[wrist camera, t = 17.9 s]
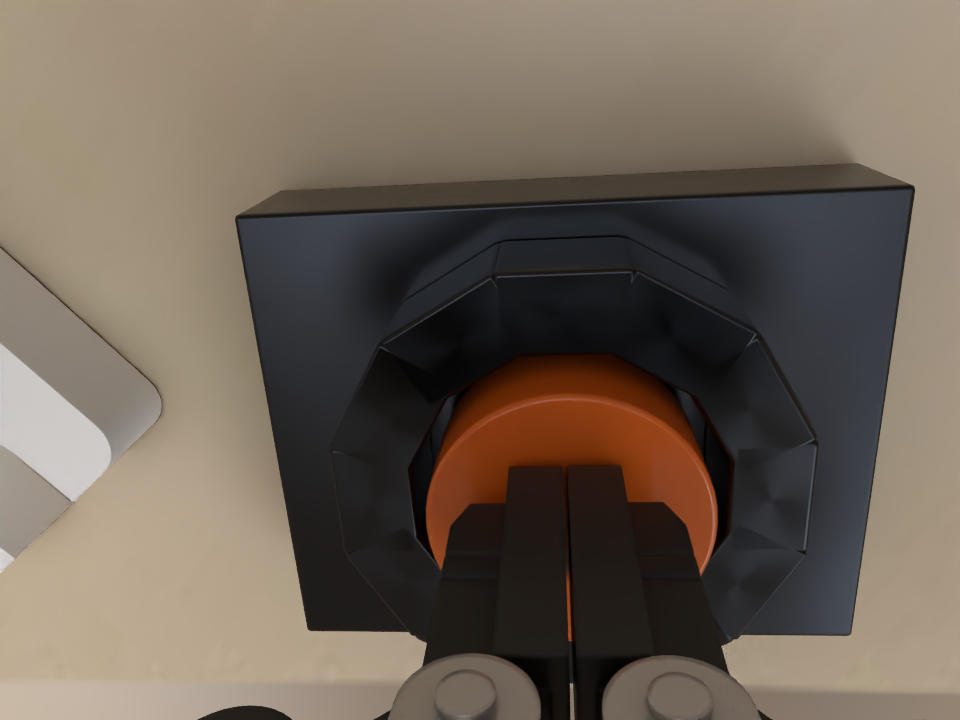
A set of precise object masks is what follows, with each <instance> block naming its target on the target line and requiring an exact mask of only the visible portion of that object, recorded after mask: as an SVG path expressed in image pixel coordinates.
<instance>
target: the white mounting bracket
mask: <svg viewBox="0 0 960 720" xmlns="http://www.w3.org/2000/svg"><path fill="white" fill-rule="evenodd" d="M160 413H161V399H160V396H159V394H158V392H157V390H156V388H155V387H154V386H153V385H152V384H151V382H150V381H149V380H148V379H146V378H145V377H144V376H143V375H142V374H141V373H140V372H139V371H137V370H136V369H135V368H134V367H133V366H132V365H131V364H130V363H129V362H127V361H126V360H125V359H124V358H123V357H122V356H121V355H120V354H118V353H117V352H116V351H115V350H114V349H113V348H112V347H111V346H110V345H108V344H107V343H106V342H105V341H104V340H103V339H102V338H101V337H100V336H98V335H97V334H96V333H95V332H94V331H93V330H92V329H91V328H89V327H88V326H87V325H86V324H85V323H84V322H83V321H82V320H81V319H79V318H78V317H77V316H76V315H75V314H74V313H73V312H72V311H70V310H69V309H68V308H67V307H66V306H65V305H64V304H63V303H62V302H60V301H59V300H58V299H57V298H56V297H55V296H54V295H53V294H52V293H50V292H49V291H48V290H47V289H46V288H45V287H44V286H43V285H41V284H40V283H39V282H38V281H37V280H36V279H35V278H34V277H33V276H31V275H30V274H29V273H28V272H27V271H26V270H25V269H24V268H22V267H21V266H20V265H19V264H18V263H17V262H16V261H15V260H14V259H12V258H11V257H10V256H9V255H8V254H7V253H6V252H5V251H3V250H2V249H1V248H0V573H1V572H2V571H3V570H4V569H5V568H6V567H7V566H8V565H9V564H10V563H11V562H12V561H13V560H14V559H15V558H16V557H17V556H18V555H20V554H21V553H22V552H23V551H24V550H25V549H26V548H27V547H28V546H29V545H30V544H31V543H32V542H33V541H34V540H35V539H36V538H37V537H38V536H39V535H40V534H41V533H42V532H43V531H44V530H45V529H46V528H47V527H48V526H49V525H50V524H51V523H52V522H53V521H54V520H56V519H57V518H58V517H59V516H60V515H61V514H62V513H63V512H64V511H65V510H66V509H67V508H68V507H69V506H70V505H71V504H72V502H74V501H75V500H76V499H77V498H78V497H79V496H80V495H81V494H82V493H83V492H84V491H85V490H86V489H87V488H88V487H89V486H91V485H92V484H93V483H94V482H95V481H96V480H97V479H98V478H99V477H100V476H101V475H102V474H103V473H104V472H105V471H106V470H107V469H108V468H109V467H110V466H111V465H112V464H113V463H114V462H115V461H116V460H117V459H118V458H119V457H120V456H121V455H122V454H123V453H124V452H125V451H127V450H128V449H129V448H130V447H131V446H132V445H133V444H134V443H135V442H136V441H137V440H138V439H139V438H140V437H141V436H142V435H143V434H144V433H145V432H146V431H147V430H148V429H149V428H150V427H151V426H152V425H153V424H154V423H155V422H156V421H157V419H158V418H159V416H160ZM21 459H22V460H23V461H24V462H25V463H26V464H28V465H29V466H30V467H31V468H32V469H34V470H35V471H36V472H37V473H39V474H40V475H41V476H42V477H43V478H45V479H46V480H47V481H48V482H49V483H51V484H52V485H53V486H54V487H55V488H57V489H58V490H59V491H60V492H61V493H63V494H64V495H65V496H66V497H68V498H69V499H70V500H71V501H72V502H71V501H70V500H68V499H67V498H66V497H65V496H63V495H62V494H61V493H60V492H59V491H57V490H56V489H55V488H54V487H53V486H51V485H50V484H49V483H48V482H47V481H45V480H44V479H43V478H42V477H41V476H39V475H38V474H37V473H36V472H34V471H33V470H32V469H31V468H30V467H28V466H27V465H26V464H25V463H24V462H23V461H22V460H21Z"/></svg>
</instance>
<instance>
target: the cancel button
mask: <svg viewBox="0 0 960 720" xmlns="http://www.w3.org/2000/svg"><path fill="white" fill-rule="evenodd" d="M569 465H621V467H622V471H623V477H624V483H625V488H626V494H627V500H628V502H664V503H665V504H666V505H667V506H668V507H669V508H670V509H671V510H672V511H673V512H674V513H675V514H676V515H677V516H678V517H679V518H680V519H681V520H682V521H683V522H684V523H685V524H686V526H687V529H688V533H689V536H690V540H691V543H692V547H693V550H694V557H696V560H697V564H698V567H699V571H700V576H701V575H702V573H703V572H704V569H705V567H706V565H707V563H708V561H709V559H710V557H711V554H712V551H713V547H714V544H715V541H716V534H717V527H718V506H717V500H716V495H715V490H714V487H713V484H712V481H711V478H710V475H709V472H708V470H707V467H706V464H705V462H704V459H703V456H702V453H701V451H700V448H699V445H698V442H697V440H696V437H695V434H694V432H693V429H692V426H691V423H690V421H689V419H688V417H687V415H686V413H685V411H684V409H683V407H682V406H681V405H680V403H679V402H678V401H677V399H676V398H675V396H674V395H673V394H672V393H671V392H670V391H669V390H668V389H667V388H666V387H665V386H664V385H663V383H662V382H660V381H659V380H658V379H656V378H655V377H654V376H652V375H650V374H648V373H646V372H644V371H642V370H640V369H638V368H636V367H634V366H632V365H630V364H628V363H626V362H624V361H622V360H620V359H618V358H616V357H614V356H612V355H610V354H600V355H561V356H522V357H519V358H517V359H516V360H514V361H512V362H510V363H509V364H507V365H505V366H504V367H502V368H500V369H498V370H497V371H495V372H493V373H491V374H490V375H488V376H486V377H484V378H483V379H481V380H479V381H477V382H476V383H475V384H474V385H473V386H471V387H470V389H469V390H468V391H467V392H466V393H465V394H464V396H463V397H462V398H461V399H460V401H459V402H458V404H457V405H456V407H455V408H454V410H453V412H452V414H451V416H450V418H449V420H448V422H447V425H446V428H445V431H444V435H443V438H442V442H441V445H440V449H439V453H438V457H437V460H436V464H435V468H434V471H433V475H432V479H431V483H430V486H429V490H428V494H427V502H426V528H427V533H428V539H429V543H430V546H431V549H432V552H433V555H434V557H435V559H436V561H437V563H438V565H439V567H440V569H441V571H442V566H443V561H444V557H445V550H446V545H447V540H448V535H449V530H450V526H451V525H452V524H453V522H454V521H455V520H456V519H457V518H458V517H459V516H460V515H461V513H462V512H463V511H464V510H465V509H466V508H467V507H468V506H469V504H470V503H506V493H507V481H508V471H509V466H562V473H563V501H564V529H565V557H566V584H567V612H568V640H569V641H571V617H570V589H569V546H568V496H567V466H569Z"/></svg>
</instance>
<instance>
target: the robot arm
mask: <svg viewBox="0 0 960 720" xmlns="http://www.w3.org/2000/svg"><path fill="white" fill-rule="evenodd" d="M567 496H568V546H569V589H570V617H571V641H572V666H573V690H574V713H575V714H574V715H575V720H772V719H770V718H769V717H767V716H766V715H764V714H763V713H762V712H760V711H759V710H758V709H757V708H756V706H755V704H754V702H753V700H752V698H751V696H750V695H749V694H748V692H747V691H746V690H745V689H744V687H743V686H742V685H741V684H740V683H738V682H737V681H736V680H735V679H734V678H733V677H731V676H730V674H729V671H728V669H727V665H726V662H725V658H724V655H723V651H722V648H721V644H720V641H719V637H718V634H717V630H716V627H715V623H714V620H713V616H712V613H711V609H710V606H709V602H708V599H707V595H706V592H705V588H704V585H703V581H702V580H701V578H700V571H699V567H698V564H697V560H696V557H694V550H693V547H692V543H691V540H690V536H689V533H688V529H687V526H686V524H685V523H684V522H683V521H682V520H681V519H680V518H679V517H678V516H677V515H676V514H675V513H674V512H673V511H672V510H671V509H670V508H669V507H668V506H667V505H666V504H665V503H664V502H628V500H627V494H626V488H625V483H624V477H623V471H622V467H621V465H569V466H567ZM198 720H292V719H291V718H289V717H288V716H286V715H285V714H284V713H282V712H279V711H277V710H274V709H272V708H267V707H263V706H238V707H233V708H228V709H223V710H220V711H217V712H215V713H211V714H209V715H207V716H205V717H202V718H200V719H198ZM374 720H570V677H569V640H568V612H567V584H566V557H565V529H564V501H563V473H562V466H509V471H508V481H507V493H506V503H470V504H469V506H468V507H467V508H466V509H465V510H464V511H463V512H462V513H461V515H460V516H459V517H458V518H457V519H456V520H455V521H454V522H453V524H452V525H451V526H450V530H449V535H448V540H447V545H446V550H445V557H444V561H443V566H442V571H441V580H440V581H439V586H438V591H437V596H436V601H435V606H434V611H433V616H432V621H431V626H430V631H429V636H428V641H427V646H426V651H425V656H424V661H423V666H422V667H421V668H420V669H419V670H417V671H416V672H415V673H413V674H412V675H411V676H410V677H409V678H408V679H407V680H406V681H405V682H404V684H403V685H402V687H401V688H400V690H399V691H398V693H397V695H396V698H395V700H394V702H393V705H392V708H391V710H390V711H388V712H386V713H385V714H383V715H381V716H380V717H378V718H376V719H374Z"/></svg>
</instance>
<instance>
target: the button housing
mask: <svg viewBox="0 0 960 720" xmlns="http://www.w3.org/2000/svg"><path fill="white" fill-rule="evenodd" d="M914 194H915V188H914V186H913V185H910V184H908V183H906V182H903V181H901V180H898V179H896V178H893V177H891V176H888V175H886V174H883V173H881V172H878V171H876V170H873V169H871V168H868V167H866V166H863V165H861V164H858V163H855V164H835V165H814V166H793V167H772V168H751V169H730V170H709V171H688V172H667V173H646V174H625V175H604V176H583V177H562V178H541V179H520V180H499V181H479V182H458V183H437V184H416V185H395V186H374V187H353V188H332V189H311V190H290V191H280V192H278V193H276V194H274V195H273V196H271V197H269V198H267V199H266V200H264V201H262V202H260V203H258V204H257V205H255V206H253V207H251V208H250V209H248V210H246V211H244V212H243V213H241V214H239V215H237V216H236V218H235V222H236V227H237V233H238V239H239V244H240V250H241V256H242V261H243V267H244V273H245V278H246V284H247V290H248V295H249V301H250V306H251V312H252V318H253V323H254V329H255V335H256V340H257V346H258V352H259V357H260V363H261V369H262V374H263V380H264V385H265V391H266V397H267V402H268V408H269V414H270V419H271V425H272V431H273V436H274V442H275V448H276V453H277V459H278V464H279V470H280V476H281V481H282V487H283V493H284V498H285V504H286V510H287V515H288V521H289V527H290V532H291V538H292V543H293V549H294V555H295V560H296V566H297V572H298V577H299V583H300V589H301V594H302V600H303V606H304V611H305V617H306V622H307V628H308V630H310V631H371V632H409V633H410V634H411V635H413V636H416V638H418V639H419V640H422V641H424V642H426V643H427V641H428V636H429V631H430V626H431V621H432V616H433V611H434V606H435V601H436V596H437V591H438V586H439V581H440V580H441V569H440V567H439V565H438V563H437V561H436V559H435V557H434V555H433V552H432V549H431V546H430V543H429V539H428V533H427V528H426V502H427V494H428V490H429V486H430V483H431V479H432V475H433V471H434V468H435V464H436V460H437V457H438V453H439V449H440V445H441V442H442V438H443V435H444V431H445V428H446V425H447V422H448V420H449V418H450V416H451V414H452V412H453V410H454V408H455V407H456V405H457V404H458V402H459V401H460V399H461V398H462V397H463V396H464V394H465V393H466V392H467V391H468V390H469V389H470V387H471V386H473V385H474V384H475V383H476V382H477V381H479V380H481V379H483V378H484V377H486V376H488V375H490V374H491V373H493V372H495V371H497V370H498V369H500V368H502V367H504V366H505V365H507V364H509V363H510V362H512V361H514V360H516V359H517V358H519V357H522V356H561V355H600V354H610V355H612V356H614V357H616V358H618V359H620V360H622V361H624V362H626V363H628V364H630V365H632V366H634V367H636V368H638V369H640V370H642V371H644V372H646V373H648V374H650V375H652V376H654V377H655V378H656V379H658V380H659V381H660V382H662V383H663V385H664V386H665V387H666V388H667V389H668V390H669V391H670V392H671V393H672V394H673V395H674V396H675V398H676V399H677V401H678V402H679V403H680V405H681V406H682V407H683V409H684V411H685V413H686V415H687V417H688V419H689V421H690V423H691V426H692V429H693V432H694V434H695V437H696V440H697V442H698V445H699V448H700V451H701V453H702V456H703V459H704V462H705V464H706V467H707V470H708V472H709V475H710V478H711V481H712V484H713V487H714V490H715V495H716V500H717V506H718V527H717V534H716V541H715V544H714V547H713V551H712V554H711V557H710V559H709V561H708V563H707V565H706V567H705V569H704V572H703V573H702V575H701V576H700V578H701V580H702V581H703V585H704V588H705V592H706V595H707V599H708V602H709V606H710V609H711V613H712V616H713V620H714V623H715V627H716V630H717V634H718V637H719V641H720V644H721V646H722V645H725V644H727V643H729V642H731V641H732V640H733V639H738V638H739V637H740V635H825V636H848V635H850V634H851V630H852V623H853V617H854V610H855V603H856V596H857V589H858V582H859V575H860V568H861V561H862V554H863V547H864V540H865V533H866V526H867V519H868V513H869V506H870V499H871V492H872V485H873V478H874V471H875V464H876V457H877V450H878V443H879V436H880V429H881V422H882V416H883V409H884V402H885V395H886V388H887V381H888V374H889V367H890V360H891V353H892V346H893V339H894V332H895V325H896V319H897V312H898V305H899V298H900V291H901V284H902V277H903V270H904V263H905V256H906V249H907V242H908V235H909V228H910V221H911V215H912V208H913V201H914ZM569 677H570V683H573V666H572V641H569Z"/></svg>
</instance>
